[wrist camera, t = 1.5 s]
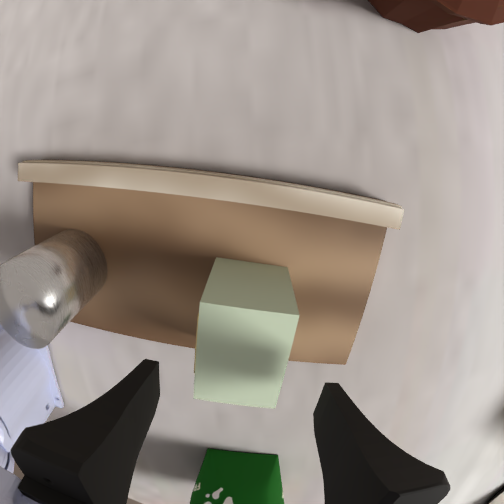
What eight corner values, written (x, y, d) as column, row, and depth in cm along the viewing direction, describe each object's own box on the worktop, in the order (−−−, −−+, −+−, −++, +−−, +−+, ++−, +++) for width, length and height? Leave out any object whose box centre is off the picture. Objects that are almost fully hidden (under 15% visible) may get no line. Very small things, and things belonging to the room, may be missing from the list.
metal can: (108, 302, 20) (60, 359, 14) (53, 289, 20) (-2, 335, 14) (107, 233, 19) (46, 273, 12) (48, 225, 19) (-18, 257, 12)
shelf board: (342, 355, 23) (351, 379, 20) (50, 307, 22) (31, 324, 19) (385, 199, 19) (404, 207, 16) (43, 158, 18) (18, 161, 16)
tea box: (287, 267, 19) (299, 315, 14) (271, 347, 21) (274, 408, 16) (213, 256, 19) (196, 301, 14) (205, 338, 21) (190, 397, 15)
